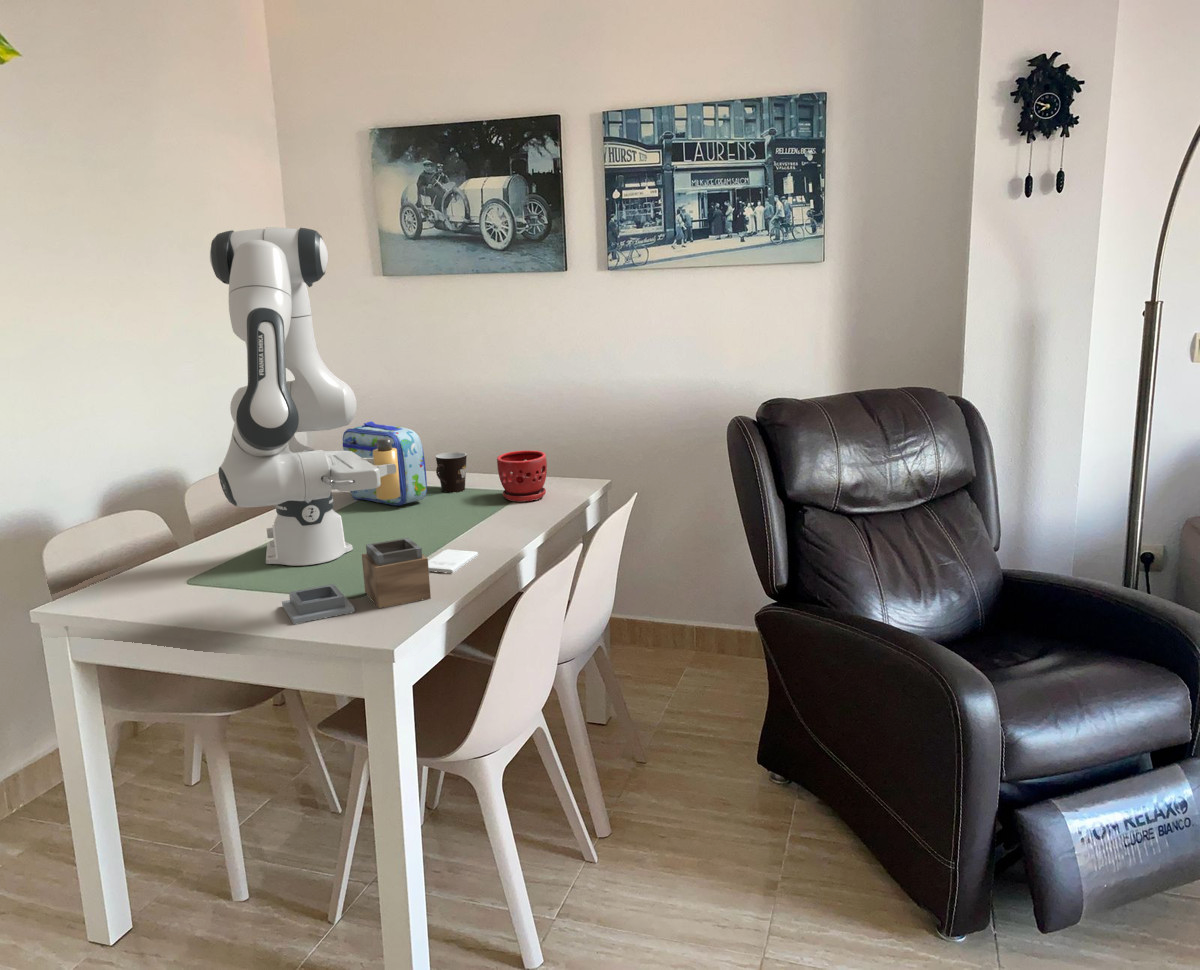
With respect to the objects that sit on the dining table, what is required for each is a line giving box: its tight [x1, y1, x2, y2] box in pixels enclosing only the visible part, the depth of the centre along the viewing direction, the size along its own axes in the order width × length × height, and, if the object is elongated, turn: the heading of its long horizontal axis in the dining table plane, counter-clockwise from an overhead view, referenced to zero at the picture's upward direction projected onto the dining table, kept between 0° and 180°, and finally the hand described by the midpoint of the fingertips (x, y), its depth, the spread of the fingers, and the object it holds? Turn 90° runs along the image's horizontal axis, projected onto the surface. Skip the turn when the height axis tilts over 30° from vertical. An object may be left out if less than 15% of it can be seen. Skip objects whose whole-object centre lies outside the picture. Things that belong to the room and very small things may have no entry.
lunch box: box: [342, 421, 428, 507], centre depth 260 cm, size 26×11×21 cm, turn 49°
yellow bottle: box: [373, 438, 400, 500], centre depth 181 cm, size 4×4×11 cm
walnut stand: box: [361, 537, 432, 609], centre depth 186 cm, size 10×10×10 cm
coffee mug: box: [435, 451, 468, 494], centre depth 270 cm, size 12×9×10 cm
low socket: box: [281, 583, 356, 625], centre depth 181 cm, size 11×11×3 cm
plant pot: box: [496, 449, 548, 503], centre depth 259 cm, size 13×13×12 cm
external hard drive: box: [428, 548, 479, 574], centre depth 206 cm, size 2×8×12 cm
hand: (390, 465), depth 182 cm, fingers closed on yellow bottle, 4 cm apart
